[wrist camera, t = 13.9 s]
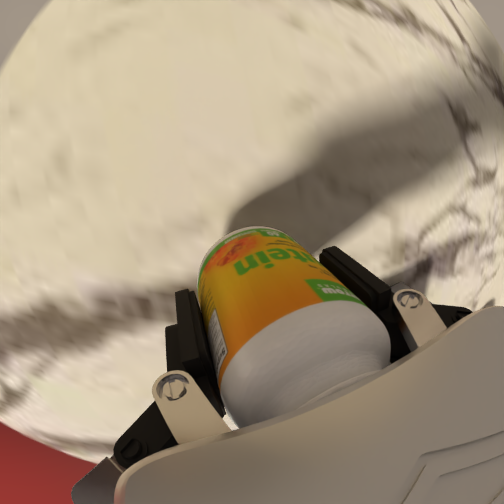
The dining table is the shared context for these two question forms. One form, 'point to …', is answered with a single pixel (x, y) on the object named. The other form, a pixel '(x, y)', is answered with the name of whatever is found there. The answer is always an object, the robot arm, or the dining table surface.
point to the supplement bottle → (282, 326)
